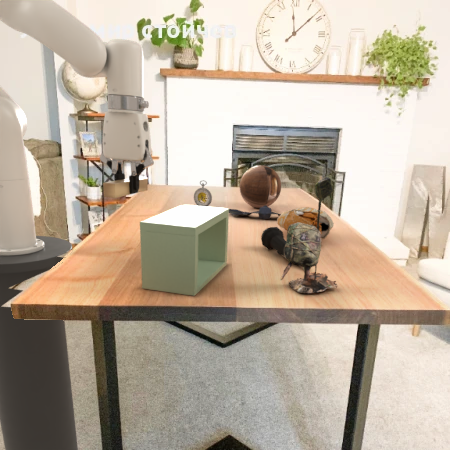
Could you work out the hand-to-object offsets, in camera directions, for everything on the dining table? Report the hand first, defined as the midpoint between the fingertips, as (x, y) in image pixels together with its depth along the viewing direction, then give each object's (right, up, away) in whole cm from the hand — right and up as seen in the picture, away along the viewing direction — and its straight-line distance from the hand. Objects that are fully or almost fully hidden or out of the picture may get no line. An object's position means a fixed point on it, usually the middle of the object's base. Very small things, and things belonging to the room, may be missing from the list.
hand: (127, 191), depth 102 cm
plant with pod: (+38, -23, -20) cm, 49 cm away
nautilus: (+44, -9, +17) cm, 48 cm away
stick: (0, 0, 0) cm, 0 cm away
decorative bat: (+36, +1, +42) cm, 55 cm away
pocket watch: (+14, +5, +50) cm, 52 cm away
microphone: (+36, -15, -1) cm, 39 cm away
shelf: (+15, -20, -16) cm, 30 cm away
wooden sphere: (+35, +9, +61) cm, 71 cm away
